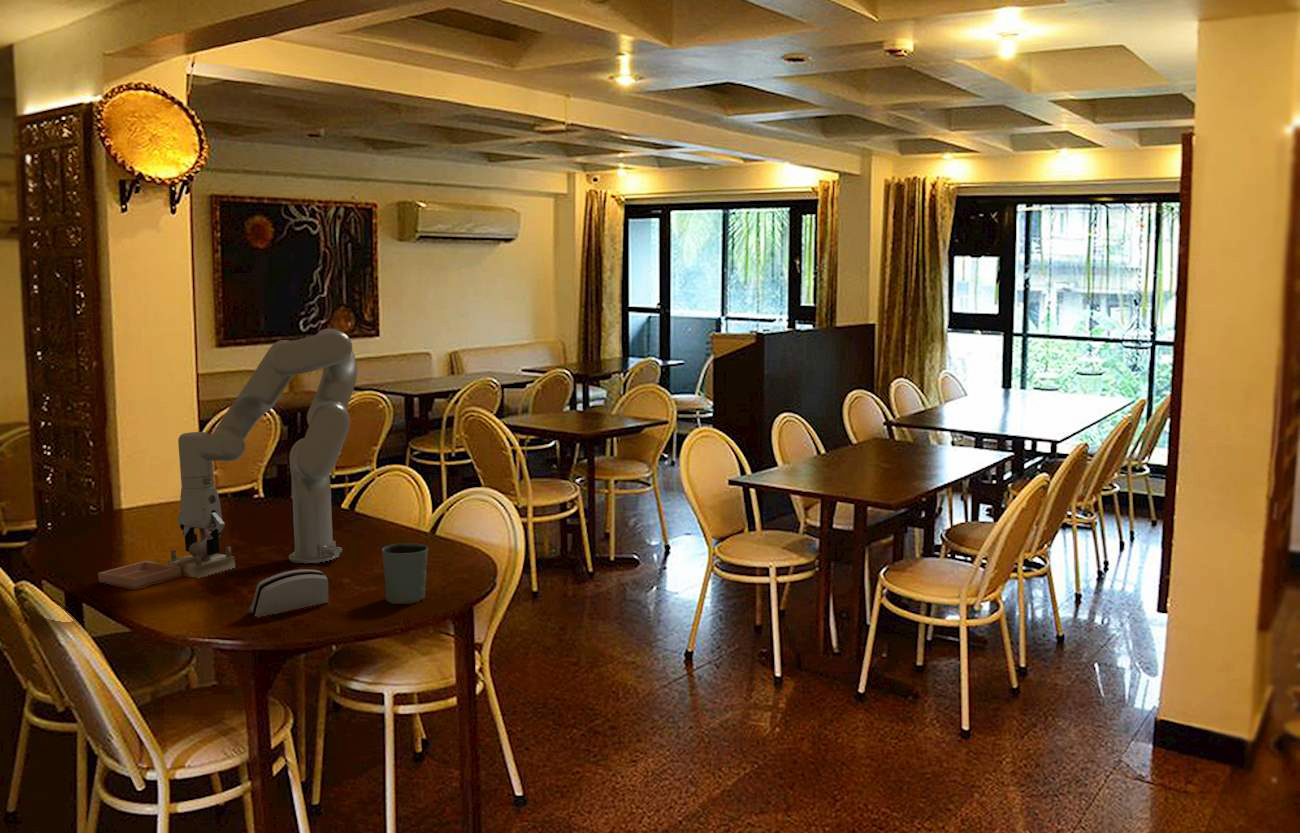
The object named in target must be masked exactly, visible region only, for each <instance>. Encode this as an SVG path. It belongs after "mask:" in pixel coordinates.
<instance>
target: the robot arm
mask: <svg viewBox="0 0 1300 833" xmlns="http://www.w3.org/2000/svg"><path fill="white" fill-rule="evenodd" d="M261 359H262V360H261V361H260V363H258V366H257V367H256V369H255V370H254V372H253V373H252V375H251V376H250V378H249V380H248V381H247V382H246V384H245V385H244V387H243V388H242V390H241V391H240V392H239V394H238V395H237V397H236V398H235V399H234V401H233V403H232V404H231V405H230V407H229V408H228V410H227V411H226V412H225V414H224V415H223V417H222V418H221V419H220V421H219V423H218V425H216V427H215V428H214V430H213V432H212V433H208V432H205V431H192V432H191V431H190V432H185V433H182V434H180V435H179V436H178V440H177V442H178V443H177V444H178V456H179V469H180V484H181V489H180V498H179V499H180V500H179V502H180V503H179V504H180V505H179V508H180V510H179V511H180V514H179V515H178V516H177V518H176V521H177V523H178V525H179V528H180V530H182V536H184V544H185V552H188V553H189V547H190V546H191V545H192V544H193V543H196V542H198V534H197V533H196V530H197V529H199V528H200V529H204V532H205V535H206V536H207V538H208V539H207V554H208V555H213V554H220V551H221V550H220V537H221V534H222V532H223V529H224V528H225V526H226V524H225V521H223V518H222V517H223V516H222V508H221V501H220V497H219V492H218V489H217V487H216V486H215V478H214V477H215V476H214V463H213V462H215V461H218V462H233V461H236V460H238V459H240V458H241V457H242V456H243V455H244V453H245V450H246V442H245V439H247V436H248V434H249V433H250V432H251V430H252V429H253V428H254V426H255V424H256V423H257V422H258V421H259V420H260V419H261V418H262V416H264V415H265V414H266V413H268V412H269V411H271V409H273V407H274V406H275V405H276V404H277V403H278V401H279V399H280V398H281V396H282V394H283V392H285V390H286V388H287V386H288V385H289V383H290V382H291V380H293V377H294V376H296V375H297V376H298V375H302V374H308V373H311V372H314V371H319V370H321V369H322V374H321V375H322V376H321V379H320V381H319V384H318V388H317V390H316V391H315V396H314V398H313V400H312V402H311V404H310V407H309V409H308V411H307V414H306V421H307V424H308V428H307V430H306V432H305V435H304V437H303V438H301V439H298V440H297V441H296V442H295V443H294V444H293V445H292V447H291V449H290V452H289V469H290V476H291V477H290V478H291V491H292V493H291V494H292V511H293V513H292V514H293V515H292V516H293V518H292V519H293V536H294V551H293V552H292V553H290V554H289V555H288V560H289V561H290V562H291V563H293V564H300V563H304V565H310V564H309V563H314V564H321V563H320V562H323V563H326V562H325V561H328V562H330V561H329V560H332V561H334V560H333V559H335V558H337V557H338V558H340V556H339V555H340V553H342V552H343V547H341V546H340V547H339V546H337V544H336V543H337V541H336V540H333V518H332V516H333V515H332V490H331V488H332V486H331V476H330V474H331V473H332V471H333V470H334V468H335V466H336V464H337V461H338V459H339V457H340V453H341V451H342V449H343V446H344V444H345V441H346V438H347V435H348V433H349V431H350V426H351V417H350V414H349V413H350V412H349V411H348V410H347V409H348V407H349V404H350V401H351V398H352V395H353V392H354V389H355V386H356V383H357V377H358V363H357V359H356V356H355V353H354V350H353V342H352V340H351V338H350V337H349V336H348V334H347V333H345V332H343V331H340V330H339V329H336V328H335V329H334V328H324V329H321V330H320V331H318V332H317V333H316V334H315V335H311V336H307V337H303V338H300V339H294V340H288V339H283V340H282V339H281V340H277V341H276V342H274V343H273V344H272V345H271V346H270V347H269V349H268V350H267V352H266V353H265V355H264V357H262V358H261ZM211 530H212V531H211ZM338 558H337V559H338ZM335 560H336V559H335ZM307 563H308V564H307Z"/></svg>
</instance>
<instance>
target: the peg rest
mask: <svg viewBox="0 0 1300 833" xmlns="http://www.w3.org/2000/svg"><path fill="white" fill-rule="evenodd" d="M195 557H196V558H195ZM195 557H193V556H192V555H191V554H190V555H186V556H183V557H182V556H181V557H179V558H178V557H177V550H175V549H174V550H173V549H172V550H171V551H170V560H167V565H172V566H178V567H181V576H182V575H186V576H185V577H187V576H191V577H190V578H193V577H197V578H196V579H198V578H199V579H201V578H200V577H203V578H205V577H204V576H206V577H209V576H208V575H210V576H212V575H211V574H213V575H215V574H214V573H217V574H219V573H218V572H220V573H222V572H221V571H223V572H226V571H225V570H227V571H229V570H228V569H230V570H233V569H232V568H234V569H236V557H235V556H234V555H232V548H231V546H225V554H223V553H222V554H221V553H217V554H215V555H213V556H211V557H210V558H209V559H207V560H203V559H202V560H201V555H195Z"/></svg>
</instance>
